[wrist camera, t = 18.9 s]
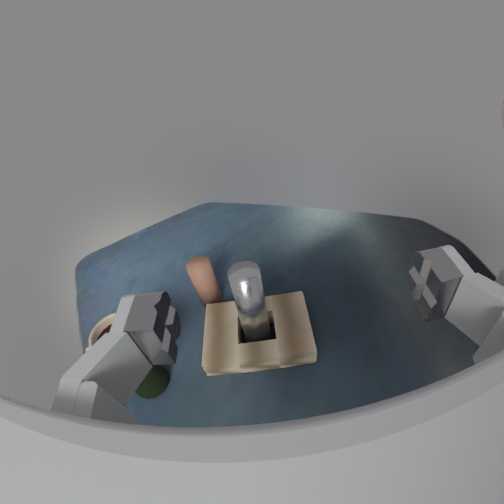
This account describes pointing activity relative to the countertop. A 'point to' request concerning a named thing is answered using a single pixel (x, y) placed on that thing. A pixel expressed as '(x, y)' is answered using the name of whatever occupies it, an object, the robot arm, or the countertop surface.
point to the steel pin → (250, 300)
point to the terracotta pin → (204, 280)
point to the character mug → (154, 378)
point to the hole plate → (261, 352)
